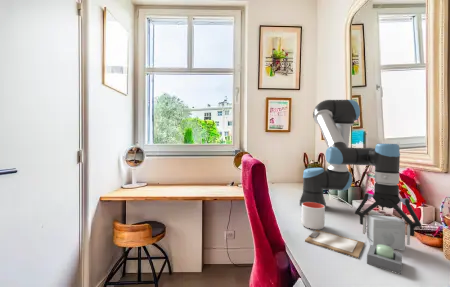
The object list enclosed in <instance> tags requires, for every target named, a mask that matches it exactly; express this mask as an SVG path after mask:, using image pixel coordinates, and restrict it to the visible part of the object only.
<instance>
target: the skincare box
mask: <svg viewBox="0 0 450 287" xmlns="http://www.w3.org/2000/svg"><path fill="white" fill-rule="evenodd" d="M366 240H367V242H369V244H370V245H373V246H377V245H386V246H389V247H391V248H392V249H393V250H398V251H406V221H405V220H402V219H401V218H398V217H396V216H386V215H375V214H374V215H373V214H366Z"/></svg>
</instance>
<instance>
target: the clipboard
mask: <svg viewBox="0 0 450 287" xmlns="http://www.w3.org/2000/svg"><path fill="white" fill-rule="evenodd" d="M304 242H306V243H309V244H312V245H314V246H318V247H321V248H324V249H327V248H328V249H327V250H330V249H331V251H333V250H334V251H333V252H336V251H337V253H339V252H340V254H342V253H344V254H343V255H345V254H347V255H346V256H348V255H350V256H349V257H352V256H353V257H352V258H355V257H356V258H355V259H359V258H358V257H360V256H361V253H362V250H363V248H364V246H365V242H364V241H360V240H357V239H352V238H349V237H345V236H342V235H339V234H335V233H332V232H327V231H323V230H322V229H319V230H317V229H316V230H314V231H313V232H312V233H310V234H309V236H307V238H305V239H304Z"/></svg>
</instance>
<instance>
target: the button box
mask: <svg viewBox="0 0 450 287" xmlns="http://www.w3.org/2000/svg"><path fill="white" fill-rule="evenodd" d="M376 254H377V246H373V245H371V244H370V245H369V249H368V251H367V253H366V255H367V256H366V264H368V265H370V266H374V267H377V268H381V269H383V270H386V271H389V272H392V271H393V273H395V272H396V274H398V273H399V275H402V266H403V253H401V252H399V251H398V252H397V251H395V250H393V260H392V259H389V258H385V257H382V256H379V255H376Z"/></svg>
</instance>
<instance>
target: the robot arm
mask: <svg viewBox="0 0 450 287" xmlns="http://www.w3.org/2000/svg"><path fill="white" fill-rule="evenodd" d="M312 112H313V113H312V118H313V120H314V122H315V123H316V124H317V126H318V127H319V130H320V132H321V134H322V136H323V139H324V141H325V144H326V146H327V149H326V151H325V161H326V162H327V163H328V164H329V165H327V167H326V170H325V169H324V168H322V167H310V168H305V169H304V170H303V175H302V193H301V197H300V199H299V206H301V207H302V203H304V202H314V203H319V204H322V205H324V206H325V209H326V208H327V203H326V202H327V201H326V200H325V196H324V190H326V191H330V190H332V191H348V190H349V189H350V187H351V186H352V183H353V174H352V172H350V169H349V168H348V167H347V165H348V166H349V165H350V166H351V165H352V166H372V167H374V193H373V194H372V193H369V192H365V194H364V198H363V199H362V201H361V202H360V204H359V205H358V207H357V208H356V210H355V212H354V214H355V215H358V216H359V225H362V235H363V234H364V235H366V234H367V215H368V214H369V213H370V212H371V211H372V210H373V209H374V208H376V207H381V208H385V209H394V210H395V211H396V212H397V214H399V216H401V218H403V221H404V222H405V223H407V227H406V245H407V246H410V245H411V237H414V236H415V228H421V227H422V223H421V221H420V220H419V217H418V215H417V214H416V212H415V211H414V209H413V206H412V205H411V202H410V199H409V198H408V197H405V198H401V197H400V191H399V190H400V186H399V184H400V162H401V153H400V145H399V144H398V143H377V144H375V147H349V146H350V145H349V143H350V136H351V135H350V134H351V127H352V126H353V125H354V124H355V121H358V120H359V119H360V118H359V117H360V114H361V108H360V105H359V103H358V101H356V100H354V99H325V100H323V101H320V102H319V103H318V104H317V105H316V106H315V108H314V109H313V111H312ZM371 198H372V199H373V200H374V202H373V203H372V204H371V205H370V206H368V207H367V208H366V209H364V210H363V211H362V212H361V210H362V209H363V207H364V206H365V205H366V203H367V202H368V201H369V200H370V199H371ZM400 202H401V203H402V205H404V206H405V207H406V209H407V211H408V213H409V214H410V216H411V217H412V219H411V218H410V217H409V216H408V215H407V214H406V213H405V212H404V211H403V209H402V208H401V207H400V206H399V205H398V204H399V203H400ZM413 221H414V222H413Z"/></svg>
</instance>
